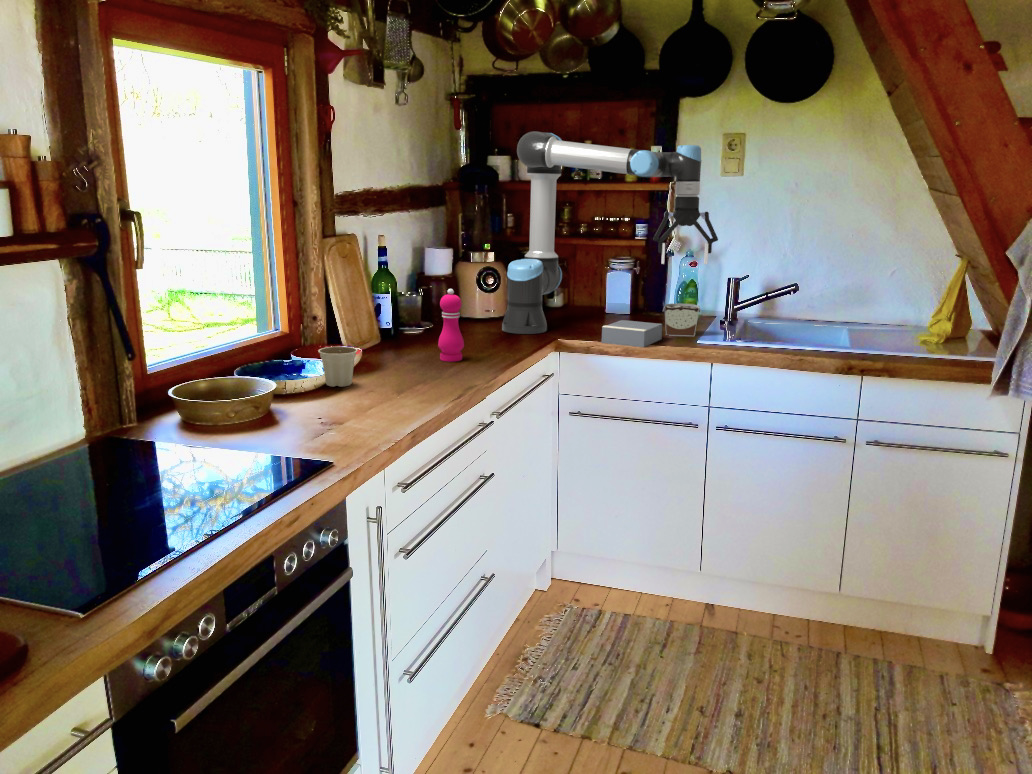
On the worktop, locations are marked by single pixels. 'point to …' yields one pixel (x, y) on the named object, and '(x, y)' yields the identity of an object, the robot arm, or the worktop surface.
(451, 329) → the pepper mill
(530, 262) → the robot arm
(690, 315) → the food container
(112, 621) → the worktop surface
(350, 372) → the flower pot
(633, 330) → the block
